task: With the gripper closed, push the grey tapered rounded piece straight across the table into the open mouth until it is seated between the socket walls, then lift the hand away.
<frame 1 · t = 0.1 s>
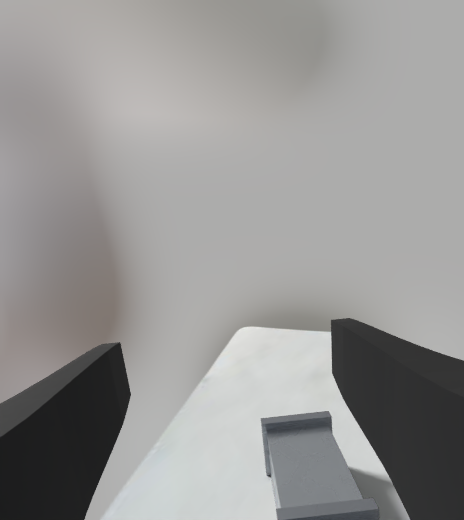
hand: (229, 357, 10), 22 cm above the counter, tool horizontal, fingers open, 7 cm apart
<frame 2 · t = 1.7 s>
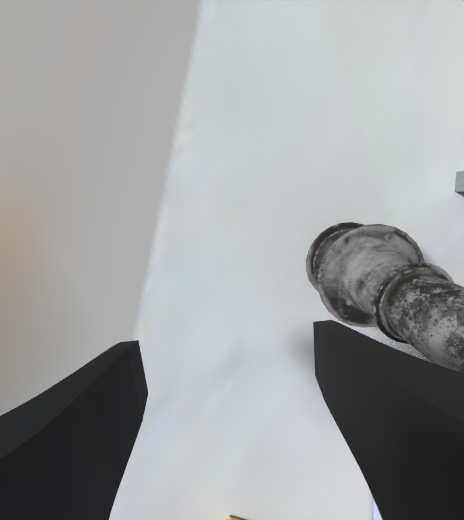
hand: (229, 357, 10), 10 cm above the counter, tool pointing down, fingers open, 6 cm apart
grey tapered rounded piece: (344, 261, 20), on the counter
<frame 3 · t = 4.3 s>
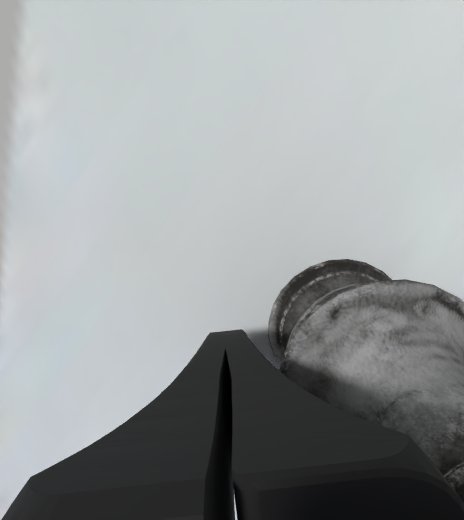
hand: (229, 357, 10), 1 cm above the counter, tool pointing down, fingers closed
grey tapered rounded piece: (334, 323, 12), on the counter, touching gripper
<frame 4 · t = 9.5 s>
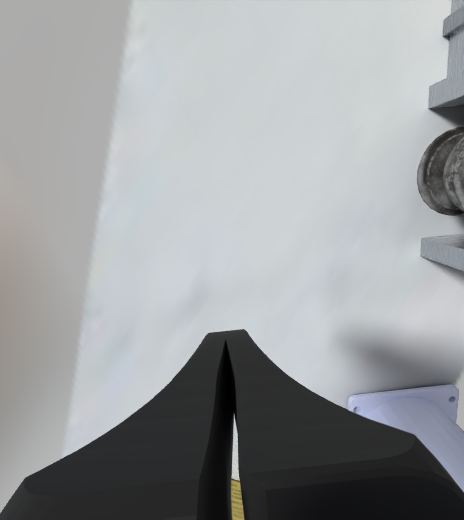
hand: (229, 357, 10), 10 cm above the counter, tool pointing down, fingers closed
candy box: (201, 512, 25), on the counter
grey tapered rounded piece: (456, 172, 19), on the counter
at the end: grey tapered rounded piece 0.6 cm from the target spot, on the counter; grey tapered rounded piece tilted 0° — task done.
